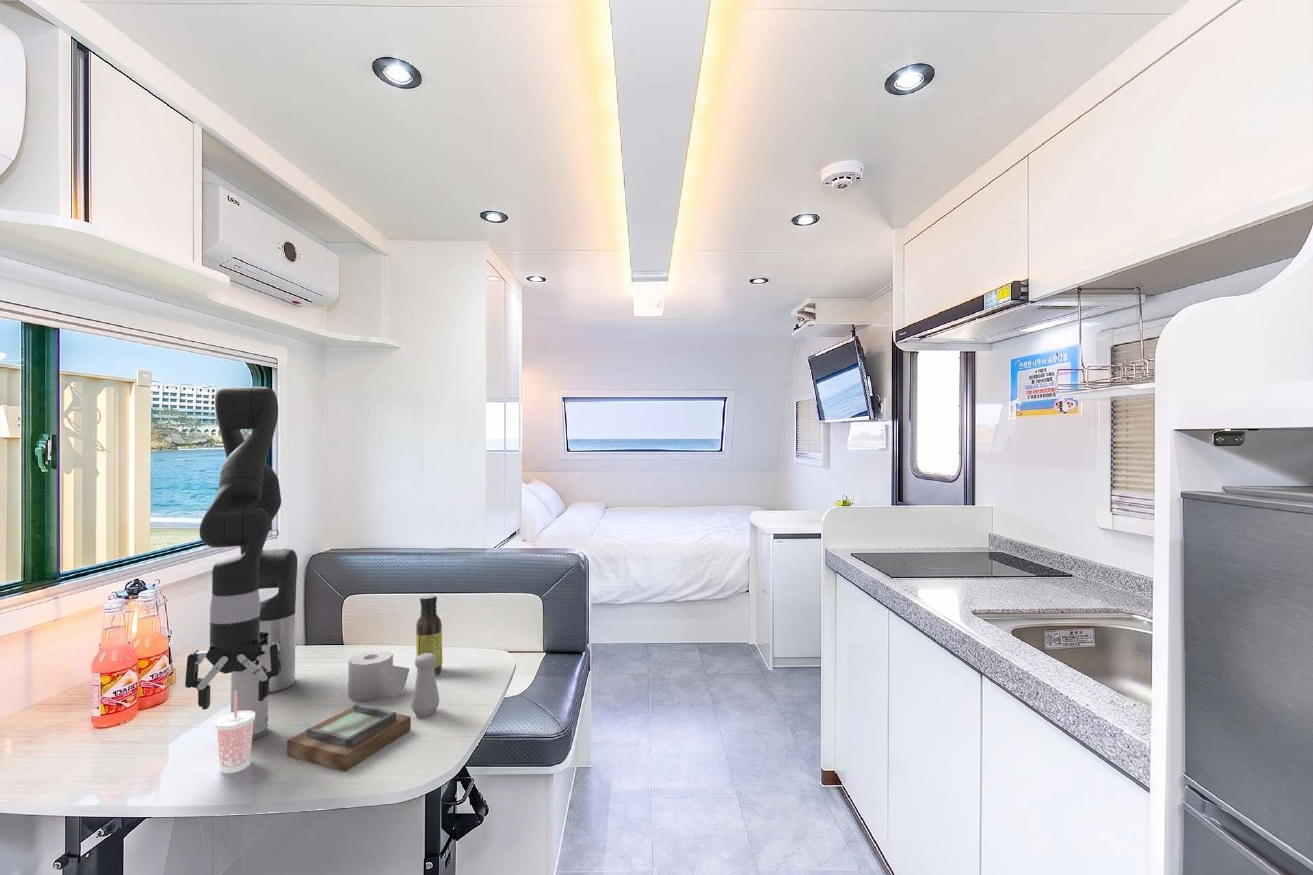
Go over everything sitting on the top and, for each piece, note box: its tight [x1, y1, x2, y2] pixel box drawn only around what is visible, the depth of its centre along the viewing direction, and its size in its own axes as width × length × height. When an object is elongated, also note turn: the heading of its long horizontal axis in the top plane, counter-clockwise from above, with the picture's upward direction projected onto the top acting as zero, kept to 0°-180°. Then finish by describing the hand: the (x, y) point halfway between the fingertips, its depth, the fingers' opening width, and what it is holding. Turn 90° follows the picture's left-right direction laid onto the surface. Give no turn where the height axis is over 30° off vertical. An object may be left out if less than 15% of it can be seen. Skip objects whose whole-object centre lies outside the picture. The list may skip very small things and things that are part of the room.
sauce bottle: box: [415, 594, 443, 676], centre depth 152 cm, size 6×6×20 cm
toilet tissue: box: [347, 649, 410, 703], centre depth 141 cm, size 9×13×9 cm
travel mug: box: [230, 632, 269, 741], centre depth 120 cm, size 6×7×20 cm
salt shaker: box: [410, 653, 440, 719], centre depth 130 cm, size 6×6×13 cm
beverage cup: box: [214, 690, 255, 774], centre depth 109 cm, size 6×6×14 cm
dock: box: [286, 703, 412, 772], centre depth 117 cm, size 15×16×4 cm
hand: (234, 703), depth 109 cm, fingers open, 8 cm apart
